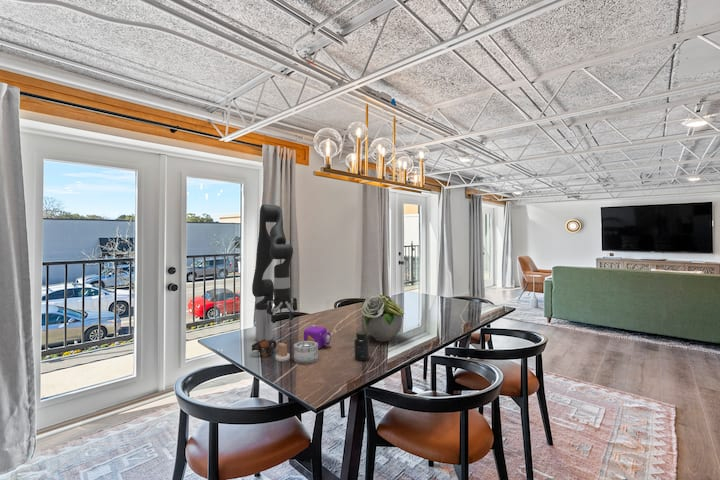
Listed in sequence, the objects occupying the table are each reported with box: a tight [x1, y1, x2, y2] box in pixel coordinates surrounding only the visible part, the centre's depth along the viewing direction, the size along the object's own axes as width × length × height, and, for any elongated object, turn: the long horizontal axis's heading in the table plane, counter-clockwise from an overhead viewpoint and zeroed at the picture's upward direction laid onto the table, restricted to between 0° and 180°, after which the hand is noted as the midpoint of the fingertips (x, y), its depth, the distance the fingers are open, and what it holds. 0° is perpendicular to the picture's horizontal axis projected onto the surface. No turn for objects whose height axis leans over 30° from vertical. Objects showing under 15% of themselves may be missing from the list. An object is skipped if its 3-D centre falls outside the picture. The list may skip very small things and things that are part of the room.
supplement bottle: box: [353, 331, 370, 362], centre depth 159 cm, size 7×7×12 cm
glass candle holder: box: [293, 340, 319, 365], centre depth 158 cm, size 11×11×7 cm
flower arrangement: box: [360, 294, 405, 342], centre depth 188 cm, size 25×25×24 cm
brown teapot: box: [251, 339, 278, 359], centre depth 167 cm, size 12×10×8 cm
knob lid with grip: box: [275, 342, 291, 362], centre depth 160 cm, size 6×6×7 cm
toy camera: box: [303, 324, 332, 350], centre depth 177 cm, size 11×14×10 cm
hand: (282, 321), depth 159 cm, fingers open, 8 cm apart
